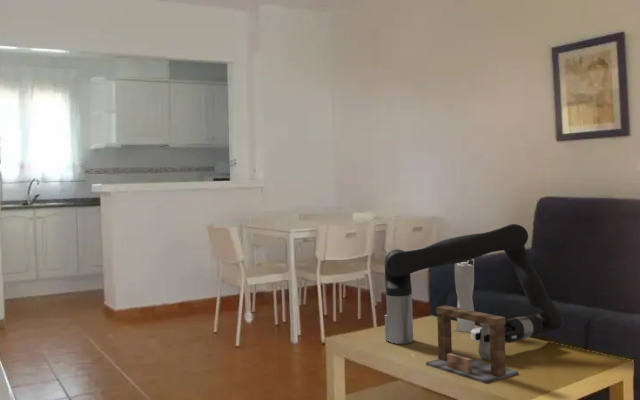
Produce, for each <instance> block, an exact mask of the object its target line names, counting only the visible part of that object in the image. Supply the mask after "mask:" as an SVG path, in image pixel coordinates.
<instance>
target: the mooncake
mask: <svg viewBox="0 0 640 400" xmlns="http://www.w3.org/2000/svg"><path fill="white" fill-rule="evenodd" d="M480 329H482V326H479V327H475V328H474V329H472V330H471V333H470V339H471V340H472V341H473V342H477V343H479V342H480V340H476V337H475V334H476V333H480Z"/></svg>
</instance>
